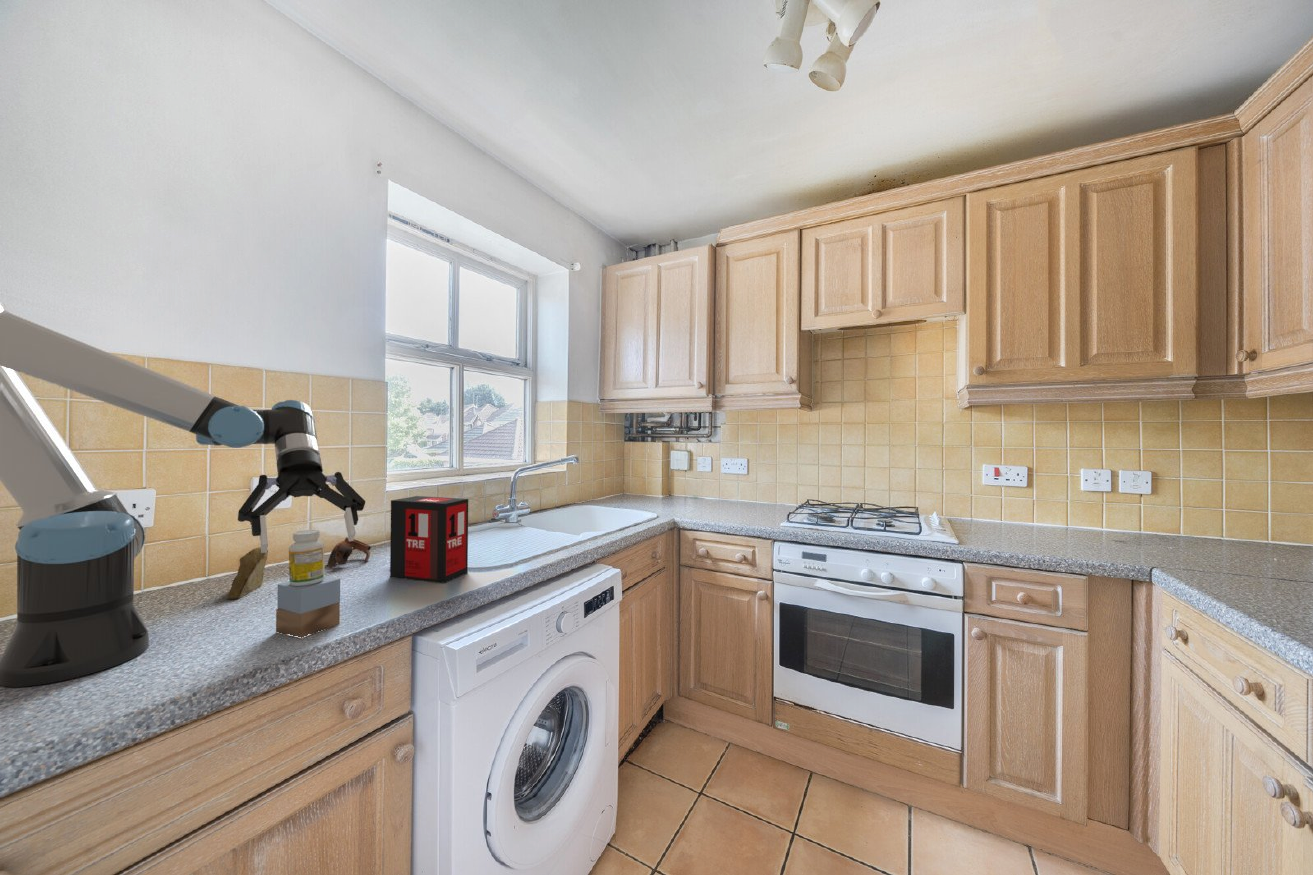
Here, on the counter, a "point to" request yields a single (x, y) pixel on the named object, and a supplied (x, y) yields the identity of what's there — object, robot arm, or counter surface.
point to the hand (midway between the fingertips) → (310, 542)
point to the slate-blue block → (308, 595)
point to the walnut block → (307, 620)
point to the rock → (248, 574)
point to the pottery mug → (347, 551)
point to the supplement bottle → (306, 558)
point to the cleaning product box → (429, 538)
